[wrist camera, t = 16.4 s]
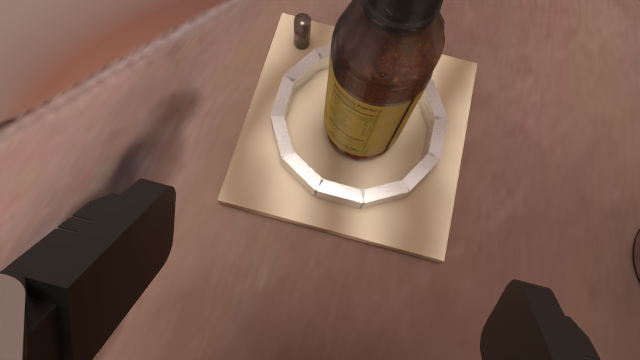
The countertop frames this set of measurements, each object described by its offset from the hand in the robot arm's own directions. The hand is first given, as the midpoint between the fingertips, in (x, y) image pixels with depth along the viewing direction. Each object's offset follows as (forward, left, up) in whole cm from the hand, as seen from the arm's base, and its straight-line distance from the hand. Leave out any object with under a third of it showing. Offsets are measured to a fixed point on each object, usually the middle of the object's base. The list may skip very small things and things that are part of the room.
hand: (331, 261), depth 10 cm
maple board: (-1, -14, -23) cm, 27 cm away
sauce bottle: (-1, -14, -22) cm, 26 cm away
